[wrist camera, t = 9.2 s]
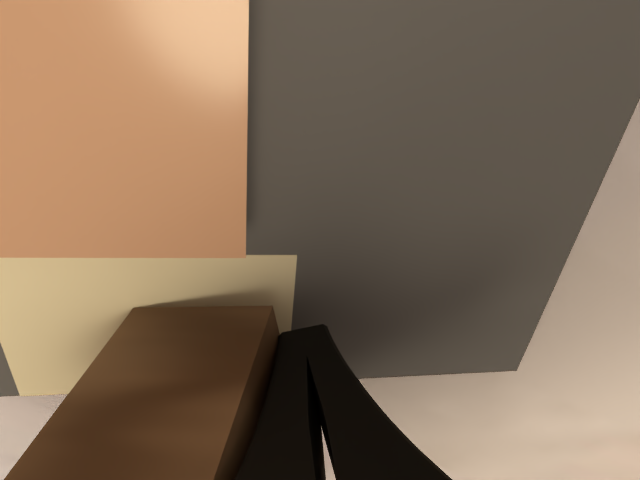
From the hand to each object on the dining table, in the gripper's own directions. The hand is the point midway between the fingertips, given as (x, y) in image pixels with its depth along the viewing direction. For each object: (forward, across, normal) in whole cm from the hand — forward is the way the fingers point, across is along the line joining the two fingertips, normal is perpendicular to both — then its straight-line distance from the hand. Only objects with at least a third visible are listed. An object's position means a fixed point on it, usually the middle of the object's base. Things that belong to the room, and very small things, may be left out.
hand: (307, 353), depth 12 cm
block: (+1, +3, 0) cm, 3 cm away
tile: (0, 0, -7) cm, 7 cm away
